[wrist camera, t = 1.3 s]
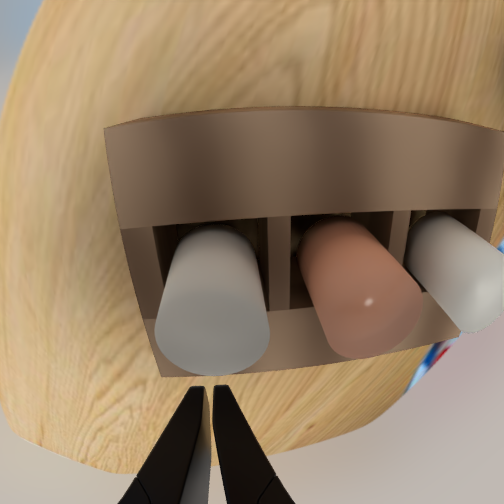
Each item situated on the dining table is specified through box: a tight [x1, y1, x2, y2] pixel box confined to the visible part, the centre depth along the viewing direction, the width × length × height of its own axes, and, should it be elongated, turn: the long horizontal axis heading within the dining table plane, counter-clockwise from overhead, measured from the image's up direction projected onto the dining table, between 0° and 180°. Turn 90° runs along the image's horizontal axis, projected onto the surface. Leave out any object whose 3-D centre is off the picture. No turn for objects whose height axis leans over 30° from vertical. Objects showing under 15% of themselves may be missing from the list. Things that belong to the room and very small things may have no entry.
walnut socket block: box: [104, 106, 504, 377], centre depth 18 cm, size 20×14×6 cm
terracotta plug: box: [297, 215, 423, 359], centre depth 14 cm, size 4×4×6 cm
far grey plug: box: [403, 211, 504, 333], centre depth 14 cm, size 4×4×6 cm
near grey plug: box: [154, 223, 270, 376], centre depth 13 cm, size 4×4×6 cm
